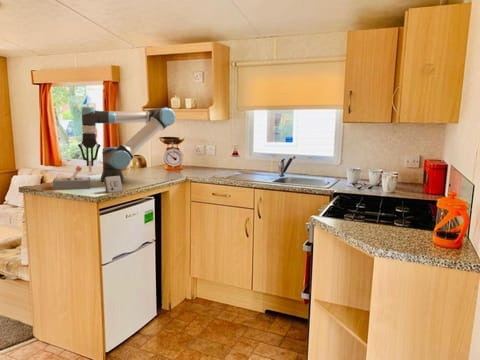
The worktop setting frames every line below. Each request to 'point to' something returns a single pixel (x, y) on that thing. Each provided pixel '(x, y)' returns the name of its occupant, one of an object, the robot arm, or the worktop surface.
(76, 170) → the breaker lever
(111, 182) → the electrical switch
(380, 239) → the worktop surface
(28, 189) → the worktop surface
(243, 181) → the worktop surface
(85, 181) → the box
